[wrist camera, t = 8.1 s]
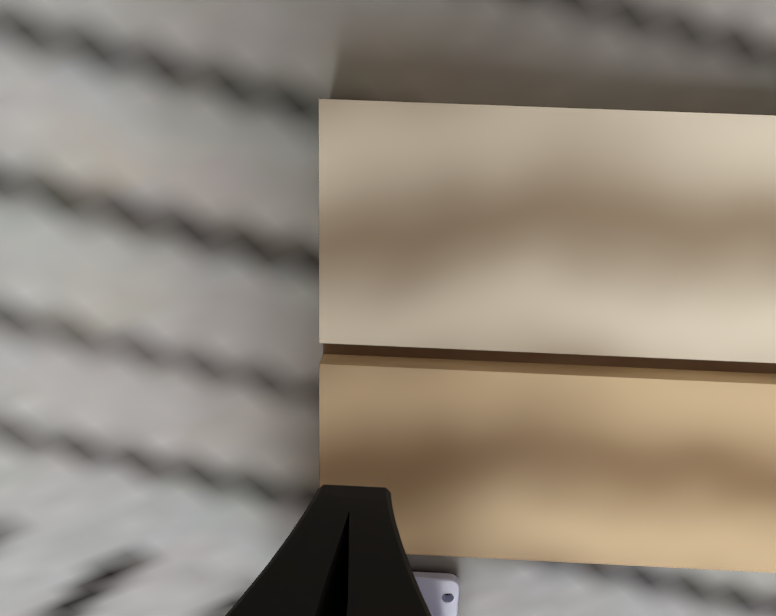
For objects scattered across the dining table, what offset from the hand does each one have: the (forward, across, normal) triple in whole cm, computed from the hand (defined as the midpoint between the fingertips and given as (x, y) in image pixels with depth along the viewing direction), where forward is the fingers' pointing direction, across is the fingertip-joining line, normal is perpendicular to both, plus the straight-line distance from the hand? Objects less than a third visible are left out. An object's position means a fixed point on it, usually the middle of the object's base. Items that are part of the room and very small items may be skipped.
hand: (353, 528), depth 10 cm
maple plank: (+10, -10, -4) cm, 15 cm away
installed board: (+10, -10, +4) cm, 15 cm away
